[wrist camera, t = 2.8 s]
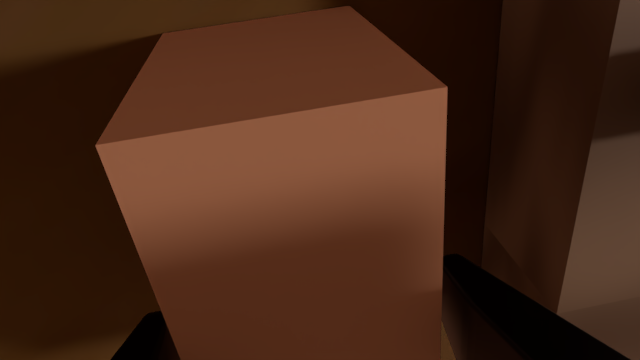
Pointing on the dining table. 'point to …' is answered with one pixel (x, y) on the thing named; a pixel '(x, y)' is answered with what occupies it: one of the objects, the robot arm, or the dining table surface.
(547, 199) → the grey flat frame
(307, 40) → the orange arch block
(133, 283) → the dining table surface
